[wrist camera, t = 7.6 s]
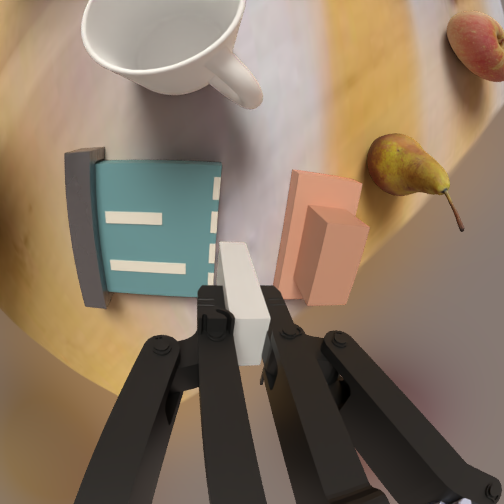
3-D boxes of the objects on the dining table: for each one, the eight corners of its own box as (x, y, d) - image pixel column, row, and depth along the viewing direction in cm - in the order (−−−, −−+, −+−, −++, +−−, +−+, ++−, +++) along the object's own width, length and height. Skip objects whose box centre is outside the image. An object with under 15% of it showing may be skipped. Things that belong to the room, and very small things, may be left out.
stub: (272, 287, 28) (287, 329, 22) (292, 169, 23) (318, 185, 17) (325, 288, 29) (349, 325, 23) (352, 178, 24) (390, 197, 18)
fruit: (410, 161, 24) (500, 196, 13) (376, 197, 25) (460, 249, 14) (384, 118, 21) (481, 132, 11) (345, 155, 23) (436, 188, 12)
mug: (283, 81, 19) (334, 54, 10) (210, 146, 21) (207, 161, 12) (186, -3, 14) (172, -68, 5) (114, 60, 16) (54, 29, 7)
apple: (471, 92, 20) (519, 97, 13) (428, 42, 17) (480, 34, 10) (482, 50, 17) (525, 51, 10) (442, 3, 14) (486, -7, 7)
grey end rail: (95, 288, 25) (85, 306, 22) (81, 148, 19) (64, 153, 16) (115, 290, 26) (106, 308, 23) (104, 147, 19) (89, 151, 17)
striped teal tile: (90, 278, 25) (83, 289, 23) (78, 161, 20) (67, 165, 18) (212, 285, 27) (212, 298, 25) (221, 162, 22) (221, 166, 20)
